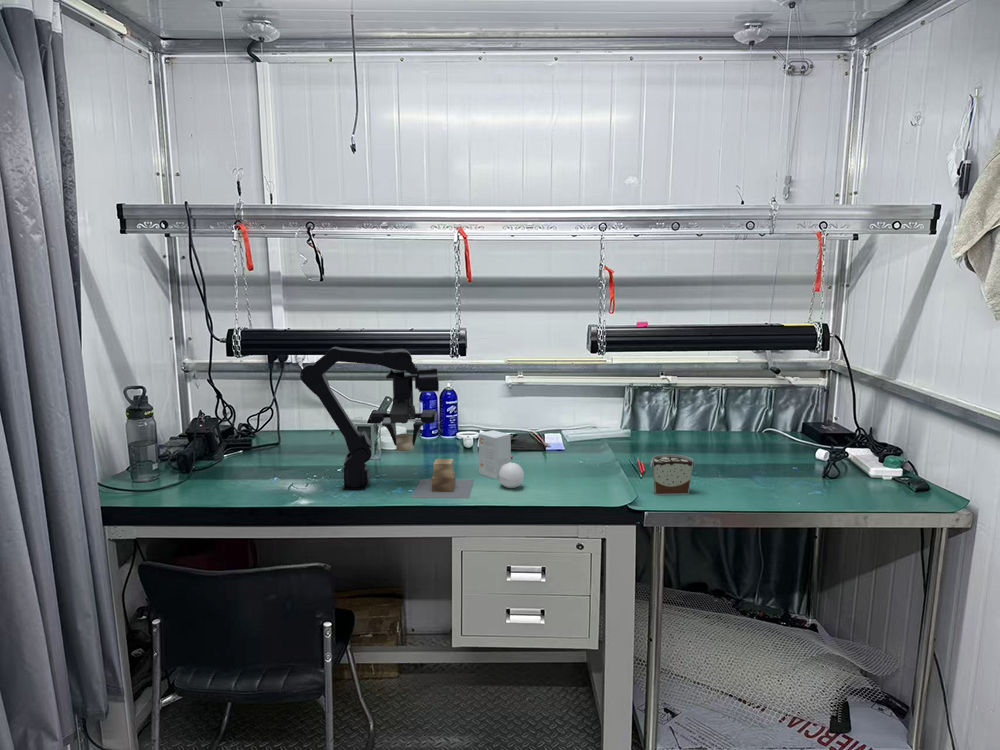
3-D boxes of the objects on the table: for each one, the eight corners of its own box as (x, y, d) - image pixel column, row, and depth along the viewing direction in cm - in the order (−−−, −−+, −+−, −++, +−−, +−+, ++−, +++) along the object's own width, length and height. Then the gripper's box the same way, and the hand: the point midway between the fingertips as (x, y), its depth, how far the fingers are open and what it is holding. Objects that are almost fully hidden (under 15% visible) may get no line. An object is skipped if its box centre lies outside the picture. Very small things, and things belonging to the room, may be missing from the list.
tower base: (432, 491, 179) (431, 478, 178) (435, 484, 185) (434, 471, 184) (453, 491, 178) (452, 478, 178) (455, 485, 184) (455, 471, 184)
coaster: (411, 498, 174) (411, 497, 174) (420, 480, 190) (420, 479, 190) (469, 499, 173) (469, 498, 173) (474, 480, 189) (474, 479, 189)
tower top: (433, 477, 179) (433, 463, 178) (436, 472, 184) (435, 458, 183) (451, 477, 178) (451, 464, 178) (453, 472, 183) (453, 458, 183)
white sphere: (523, 483, 186) (523, 459, 185) (524, 491, 179) (524, 466, 178) (489, 483, 187) (489, 459, 185) (489, 491, 179) (488, 466, 178)
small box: (511, 475, 194) (511, 434, 192) (496, 480, 190) (496, 437, 188) (493, 469, 200) (493, 429, 198) (478, 474, 196) (477, 433, 194)
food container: (687, 487, 182) (688, 453, 181) (694, 494, 176) (695, 459, 175) (644, 487, 182) (645, 453, 180) (650, 494, 176) (651, 460, 174)
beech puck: (394, 451, 183) (394, 437, 182) (398, 446, 188) (397, 433, 187) (411, 451, 183) (411, 437, 182) (414, 446, 188) (414, 433, 187)
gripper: (364, 398, 175) (366, 452, 178) (431, 398, 175) (432, 452, 177) (373, 391, 186) (375, 442, 189) (436, 390, 186) (438, 442, 188)
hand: (404, 445), depth 185 cm, fingers closed on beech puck, 5 cm apart
